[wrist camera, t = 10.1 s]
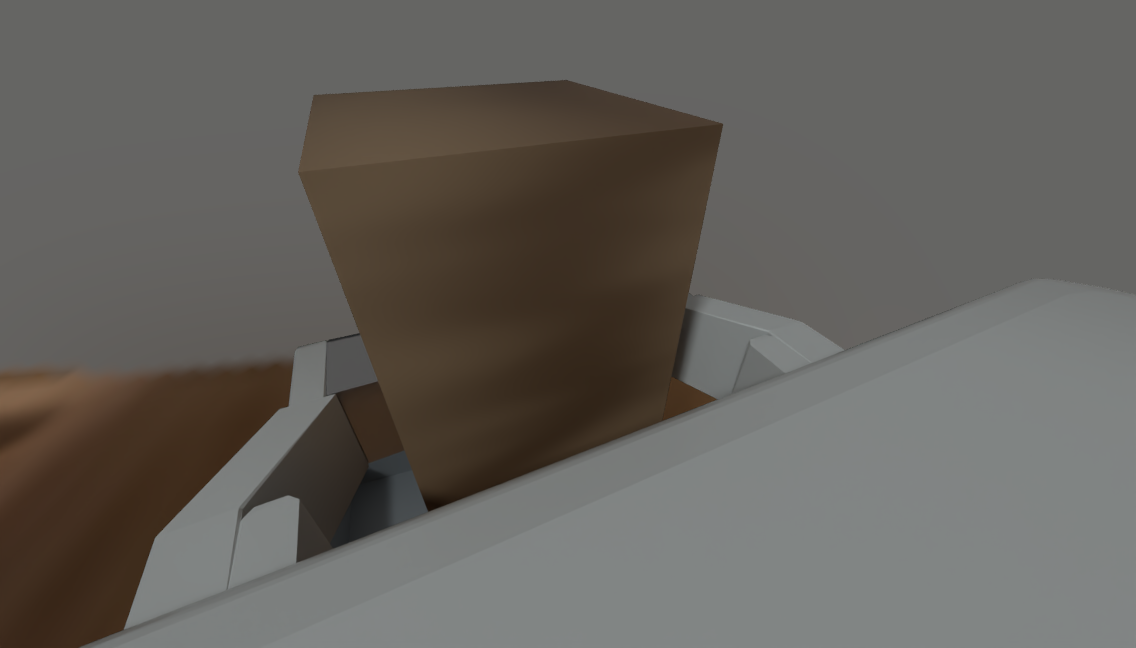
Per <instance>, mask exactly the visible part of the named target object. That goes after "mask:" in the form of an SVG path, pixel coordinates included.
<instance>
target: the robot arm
mask: <svg viewBox="0 0 1136 648" xmlns="http://www.w3.org/2000/svg"><path fill="white" fill-rule="evenodd" d="M672 377H674V378H676V379H678V380H680V381H682V382H684V383H686V384H688V385H690V386H692V387H694V388H696V389H698V390H700V391H702V392H704V393H706V394H708V395H710V396H712V397H714V398H716V399H718V400H715V401H713V402H710V403H708V404H705V405H702V406H700V407H697V408H695V409H692V410H689V411H687V412H684V413H682V414H679V415H677V416H674V417H671V418H669V419H666V420H664V421H661V422H658V423H656V424H653V425H651V426H648V427H646V428H643V429H640V430H638V431H635V432H633V433H630V434H628V435H625V436H622V437H620V438H617V439H615V440H612V441H610V442H607V443H604V444H602V445H599V446H597V447H594V448H591V449H589V450H586V451H584V452H581V453H579V454H576V455H573V456H571V457H568V458H566V459H563V460H561V461H558V462H555V463H553V464H550V465H548V466H545V467H542V468H540V469H537V470H535V471H532V472H530V473H527V474H524V475H522V476H519V477H517V478H514V479H512V480H509V481H506V482H504V483H501V484H499V485H496V486H493V487H491V488H488V489H486V490H483V491H481V492H478V493H475V494H473V495H470V496H468V497H465V498H463V499H460V500H457V501H455V502H452V503H450V504H447V505H445V506H442V507H439V508H437V509H434V510H432V511H429V512H426V513H424V514H421V515H419V516H416V517H414V518H411V519H408V520H406V521H403V522H401V523H398V524H396V525H393V526H390V527H388V528H385V529H383V530H380V531H377V532H375V533H372V534H370V535H367V536H365V537H362V538H359V539H357V540H354V541H352V542H349V543H347V544H344V545H341V546H339V547H336V548H334V549H333V548H332V546H331V545H330V542H331V540H332V538H333V536H334V534H335V532H336V530H337V528H338V526H339V524H340V522H341V520H342V518H343V517H344V515H345V513H346V511H347V509H348V507H349V505H350V503H351V501H352V499H353V497H354V495H355V493H356V491H357V489H358V487H359V485H360V483H361V481H362V479H363V477H364V475H365V473H366V471H367V469H368V467H369V465H368V463H371V462H374V461H376V460H379V459H382V458H385V457H387V456H390V455H393V454H396V453H399V452H401V451H404V448H403V445H402V442H401V440H400V437H399V435H398V432H397V429H396V427H395V424H394V421H393V419H392V416H391V414H390V411H389V408H388V406H387V403H386V401H385V398H384V395H383V393H382V390H381V387H380V385H379V382H378V380H377V377H376V374H375V372H374V369H373V367H372V364H371V361H370V359H369V356H368V353H367V351H366V348H365V346H364V343H363V340H362V338H361V335H360V333H359V334H354V335H349V336H345V337H340V338H335V339H331V340H328V341H326V340H325V341H321V342H317V343H312V344H309V345H305V346H300V347H298V348H297V349H296V350H295V354H294V363H293V372H292V381H291V390H290V399H289V407H285V408H282V409H279V410H278V411H277V412H276V413H275V414H274V415H273V416H272V417H271V418H270V419H269V420H268V421H267V422H266V423H265V425H264V426H263V427H262V428H261V429H260V430H259V431H258V432H257V433H256V434H255V435H254V436H253V437H252V438H251V439H250V440H249V441H248V442H247V443H246V444H245V445H244V446H243V447H242V448H241V449H240V450H239V451H238V452H237V453H236V454H235V456H234V457H233V458H232V459H231V460H230V461H229V462H228V463H227V464H226V465H225V466H224V467H223V468H222V469H221V470H220V471H219V472H218V473H217V474H216V475H215V476H214V477H213V478H212V479H211V480H210V481H209V482H208V483H207V484H206V485H205V487H204V488H203V489H202V490H201V491H200V492H199V493H198V494H197V495H196V496H195V497H194V498H193V499H192V500H191V501H190V502H189V503H188V504H187V505H186V506H185V507H184V508H183V509H182V510H181V511H180V512H179V513H178V514H177V515H176V516H175V518H174V519H173V520H172V521H171V522H170V523H169V524H168V525H167V526H166V527H165V528H164V529H163V530H162V531H161V532H160V533H159V534H158V535H157V536H156V537H155V540H154V543H153V546H152V549H151V551H150V554H149V557H148V560H147V563H146V566H145V569H144V572H143V575H142V578H141V581H140V584H139V587H138V590H137V593H136V596H135V598H134V601H133V604H132V607H131V610H130V613H129V616H128V619H127V622H126V625H125V628H124V630H122V631H120V632H117V633H114V634H112V635H109V636H107V637H104V638H102V639H99V640H96V641H94V642H91V643H89V644H86V645H84V646H81V647H78V648H1136V295H1135V294H1131V293H1126V292H1123V291H1117V290H1113V289H1107V288H1103V287H1097V286H1091V285H1086V284H1080V283H1073V282H1067V281H1061V280H1055V279H1044V278H1039V279H1030V280H1026V281H1023V282H1019V283H1016V284H1014V285H1011V286H1009V287H1007V288H1004V289H1002V290H999V291H997V292H994V293H992V294H989V295H986V296H984V297H981V298H978V299H976V300H973V301H971V302H968V303H966V304H963V305H960V306H958V307H955V308H953V309H950V310H948V311H945V312H942V313H940V314H937V315H935V316H932V317H929V318H927V319H925V320H922V321H919V322H917V323H914V324H911V325H909V326H906V327H904V328H901V329H898V330H896V331H893V332H891V333H888V334H886V335H883V336H880V337H878V338H875V339H873V340H870V341H868V342H865V343H862V344H860V345H857V346H855V347H852V348H849V349H847V350H844V349H843V348H841V347H840V346H838V345H836V344H835V343H833V342H832V341H830V340H829V339H827V338H826V337H824V336H823V335H821V334H820V333H818V332H817V331H815V330H814V329H812V328H811V327H809V326H807V325H806V324H804V323H803V322H801V321H798V320H794V319H790V318H786V317H782V316H779V315H775V314H771V313H767V312H763V311H759V310H756V309H751V308H748V307H744V306H740V305H737V304H733V303H729V302H725V301H721V300H717V299H713V298H710V297H706V296H702V295H695V296H692V295H691V294H690V293H688V298H687V303H686V308H685V312H684V317H683V322H682V327H681V332H680V337H679V342H678V347H677V351H676V356H675V361H674V366H673V371H672Z"/></svg>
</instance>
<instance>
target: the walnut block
mask: <svg viewBox="0 0 1136 648" xmlns="http://www.w3.org/2000/svg"><path fill="white" fill-rule="evenodd" d="M722 127H723V124H722V123H718V122H715V121H711V120H707V119H704V118H700V117H697V116H693V115H690V114H686V113H682V112H679V111H675V110H672V109H668V108H664V107H660V106H657V105H654V104H650V103H647V102H643V101H639V100H636V99H632V98H628V97H625V96H621V95H618V94H614V93H610V92H607V91H603V90H600V89H596V88H593V87H589V86H586V85H582V84H578V83H575V82H571V81H568V80H561V81H544V82H528V83H511V84H496V85H495V84H493V85H478V86H462V87H461V86H460V87H444V88H428V89H427V88H426V89H409V90H392V91H375V92H358V93H343V94H325V95H314V97H313V101H312V106H311V111H310V116H309V121H308V126H307V131H306V136H305V141H304V146H303V151H302V156H301V161H300V166H299V171H298V173H299V175H300V178H301V181H302V183H303V186H304V189H305V191H306V194H307V196H308V199H309V202H310V204H311V207H312V210H313V212H314V215H315V217H316V220H317V223H318V225H319V228H320V230H321V232H322V236H323V238H324V241H325V244H326V246H327V249H328V251H329V254H330V256H331V259H332V262H333V264H334V267H335V270H336V272H337V275H338V278H339V280H340V283H341V285H342V288H343V291H344V293H345V296H346V298H347V301H348V304H349V306H350V309H351V311H352V314H353V317H354V319H355V322H356V324H357V327H358V330H359V332H360V335H361V338H362V340H363V343H364V346H365V348H366V351H367V353H368V356H369V359H370V361H371V364H372V367H373V369H374V372H375V374H376V377H377V380H378V382H379V385H380V387H381V390H382V393H383V395H384V398H385V401H386V403H387V406H388V408H389V411H390V414H391V416H392V419H393V421H394V424H395V427H396V429H397V432H398V435H399V437H400V440H401V442H402V445H403V448H404V450H405V453H406V456H407V458H408V461H409V463H410V466H411V469H412V471H413V474H414V476H415V479H416V482H417V484H418V487H419V490H420V492H421V495H422V497H423V500H424V503H425V505H426V508H427V510H428V512H429V511H432V510H434V509H437V508H439V507H442V506H445V505H447V504H450V503H452V502H455V501H457V500H460V499H463V498H465V497H468V496H470V495H473V494H475V493H478V492H481V491H483V490H486V489H488V488H491V487H493V486H496V485H499V484H501V483H504V482H506V481H509V480H512V479H514V478H517V477H519V476H522V475H524V474H527V473H530V472H532V471H535V470H537V469H540V468H542V467H545V466H548V465H550V464H553V463H555V462H558V461H561V460H563V459H566V458H568V457H571V456H573V455H576V454H579V453H581V452H584V451H586V450H589V449H591V448H594V447H597V446H599V445H602V444H604V443H607V442H610V441H612V440H615V439H617V438H620V437H622V436H625V435H628V434H630V433H633V432H635V431H638V430H640V429H643V428H646V427H648V426H651V425H653V424H656V423H658V422H661V421H662V420H663V415H664V410H665V405H666V400H667V395H668V390H669V386H670V381H671V376H672V371H673V366H674V361H675V356H676V351H677V347H678V342H679V337H680V332H681V327H682V322H683V317H684V312H685V308H686V303H687V298H688V293H689V288H690V283H691V278H692V273H693V268H694V263H695V259H696V254H697V249H698V244H699V239H700V234H701V229H702V225H703V220H704V215H705V210H706V205H707V200H708V195H709V191H710V186H711V181H712V176H713V171H714V166H715V161H716V156H717V151H718V146H719V142H720V137H721V132H722Z"/></svg>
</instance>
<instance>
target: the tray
mask: <svg viewBox="0 0 1136 648" xmlns="http://www.w3.org/2000/svg"><path fill="white" fill-rule="evenodd" d="M368 465H369V467H368V469H367V471H366V473H365V475H364V477H363V479H362V481H361V483H360V485H359V487H358V489H357V491H356V493H355V495H354V497H353V499H352V501H351V503H350V505H349V507H348V509H347V511H346V513H345V515H344V517H343V518H342V520H341V522H340V524H339V526H338V528H337V530H336V532H335V534H334V536H333V538H332V540H331V542H330V545H331V546H332V548H333V549H334V548H336V547H339V546H341V545H344V544H347V543H349V542H352V541H354V540H357V539H359V538H362V537H365V536H367V535H370V534H372V533H375V532H377V531H380V530H383V529H385V528H388V527H390V526H393V525H396V524H398V523H401V522H403V521H406V520H408V519H411V518H414V517H416V516H419V515H421V514H424V513H426V512H428V510H427V508H426V505H425V503H424V500H423V497H422V495H421V492H420V490H419V487H418V484H417V482H416V479H415V476H414V474H413V471H412V469H411V466H410V463H409V461H408V458H407V456H406V453H405V450H404V451H401V452H399V453H396V454H393V455H390V456H387V457H385V458H382V459H379V460H376V461H374V462H371V463H368Z"/></svg>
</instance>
